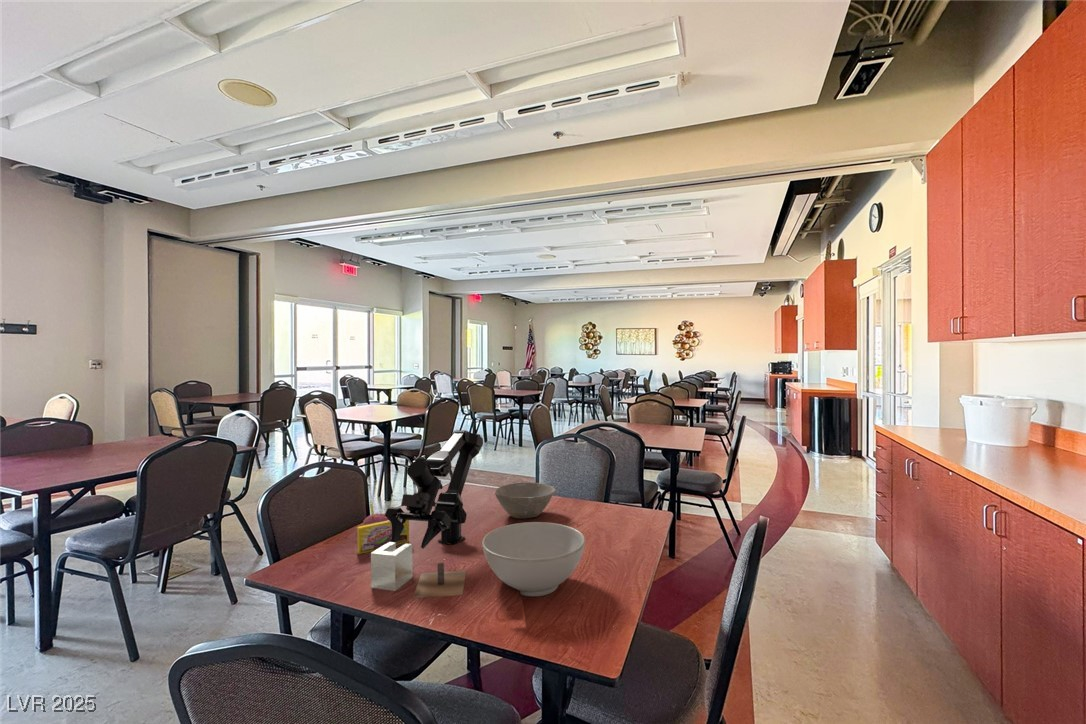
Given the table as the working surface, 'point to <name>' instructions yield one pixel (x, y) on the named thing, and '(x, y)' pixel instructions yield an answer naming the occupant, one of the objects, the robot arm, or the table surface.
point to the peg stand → (440, 583)
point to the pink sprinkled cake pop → (374, 517)
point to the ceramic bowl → (524, 498)
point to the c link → (391, 566)
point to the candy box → (378, 536)
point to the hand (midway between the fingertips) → (407, 546)
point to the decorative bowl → (533, 555)
